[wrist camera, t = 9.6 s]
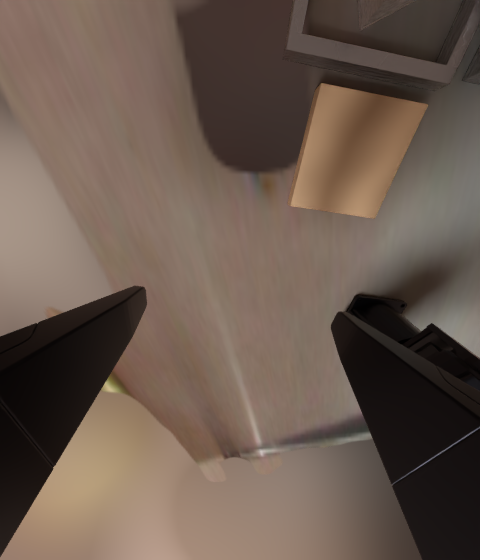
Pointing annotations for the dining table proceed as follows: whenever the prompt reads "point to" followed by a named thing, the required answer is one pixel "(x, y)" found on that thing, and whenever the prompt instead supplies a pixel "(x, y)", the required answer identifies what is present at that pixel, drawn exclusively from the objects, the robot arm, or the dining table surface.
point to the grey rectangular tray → (387, 53)
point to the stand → (352, 150)
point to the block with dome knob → (378, 10)
